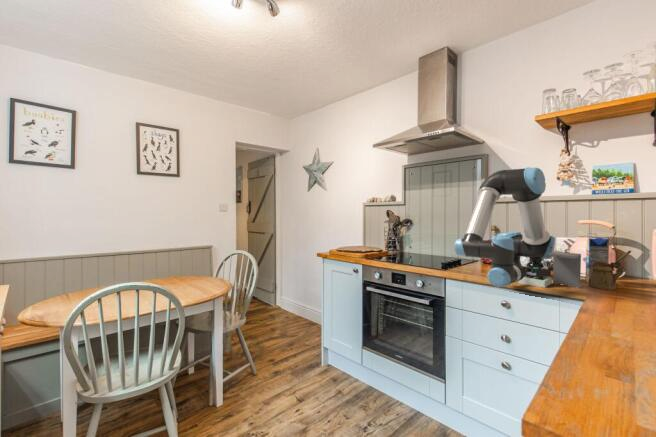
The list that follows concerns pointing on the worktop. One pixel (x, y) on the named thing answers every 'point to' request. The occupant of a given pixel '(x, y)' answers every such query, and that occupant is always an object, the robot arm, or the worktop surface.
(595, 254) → the beverage box
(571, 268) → the bay
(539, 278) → the supplement bottle
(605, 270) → the wooden mug
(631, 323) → the worktop surface
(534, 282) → the tray
